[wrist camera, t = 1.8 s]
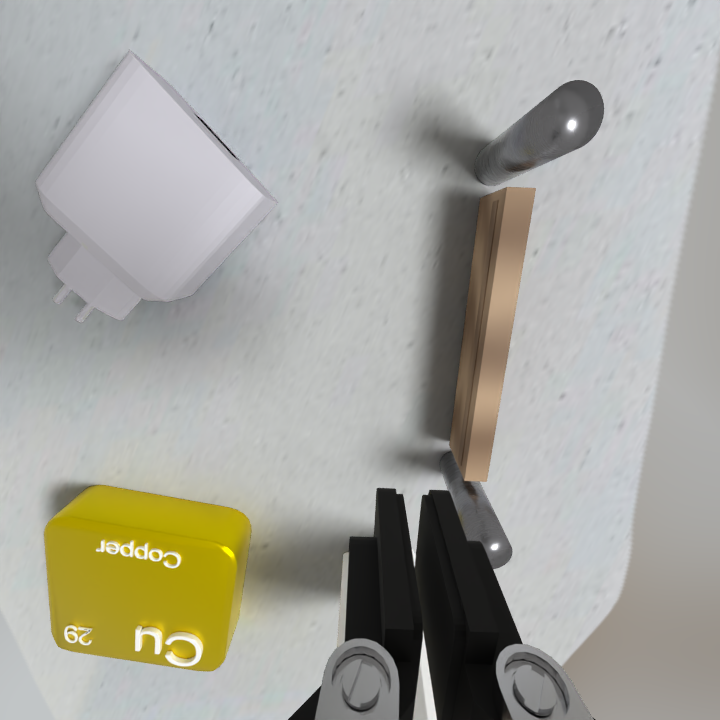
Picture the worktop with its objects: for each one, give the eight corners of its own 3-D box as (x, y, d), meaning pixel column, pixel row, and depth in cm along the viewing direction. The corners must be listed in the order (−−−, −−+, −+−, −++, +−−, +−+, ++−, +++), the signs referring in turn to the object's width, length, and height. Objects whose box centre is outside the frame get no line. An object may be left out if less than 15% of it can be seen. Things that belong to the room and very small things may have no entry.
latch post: (441, 450, 29) (473, 536, 20) (470, 451, 29) (515, 537, 20) (438, 475, 30) (468, 568, 21) (467, 476, 30) (508, 569, 21)
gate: (479, 197, 23) (506, 187, 19) (504, 198, 23) (536, 188, 19) (448, 445, 28) (463, 480, 24) (468, 446, 28) (487, 481, 24)
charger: (38, 257, 25) (171, 83, 22) (145, 350, 27) (281, 203, 24) (-34, 259, 20) (120, 40, 17) (101, 371, 22) (262, 193, 19)
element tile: (255, 508, 32) (237, 553, 27) (238, 628, 36) (219, 683, 31) (82, 477, 31) (33, 518, 26) (86, 603, 35) (45, 657, 31)
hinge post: (477, 143, 22) (548, 78, 14) (515, 144, 22) (610, 81, 14) (472, 185, 23) (536, 149, 14) (509, 186, 23) (595, 151, 14)
